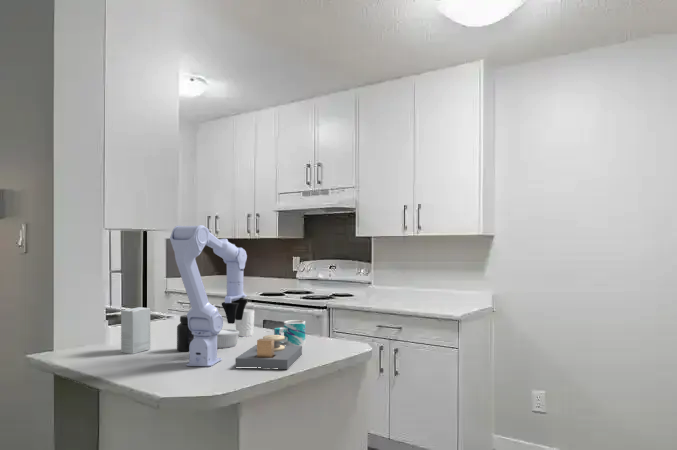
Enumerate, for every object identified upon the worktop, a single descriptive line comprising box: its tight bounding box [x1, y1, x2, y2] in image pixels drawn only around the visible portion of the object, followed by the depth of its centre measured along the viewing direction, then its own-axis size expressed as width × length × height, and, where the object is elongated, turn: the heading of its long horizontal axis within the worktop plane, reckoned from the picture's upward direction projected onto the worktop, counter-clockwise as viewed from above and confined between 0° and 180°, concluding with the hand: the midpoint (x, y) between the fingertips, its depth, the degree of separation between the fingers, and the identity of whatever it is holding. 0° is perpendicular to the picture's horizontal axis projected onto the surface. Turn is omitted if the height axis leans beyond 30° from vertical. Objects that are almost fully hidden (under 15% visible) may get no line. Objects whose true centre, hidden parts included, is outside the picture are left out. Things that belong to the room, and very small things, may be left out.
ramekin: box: [217, 328, 239, 349], centre depth 190 cm, size 11×11×5 cm
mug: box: [273, 319, 307, 347], centre depth 190 cm, size 8×12×8 cm
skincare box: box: [120, 306, 151, 355], centre depth 181 cm, size 8×6×15 cm
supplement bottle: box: [176, 314, 194, 353], centre depth 182 cm, size 7×7×12 cm
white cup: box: [234, 308, 255, 338], centre depth 210 cm, size 8×8×10 cm
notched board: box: [235, 334, 303, 370], centre depth 164 cm, size 20×16×7 cm
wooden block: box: [256, 338, 274, 358], centre depth 158 cm, size 3×4×8 cm, turn 81°
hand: (235, 321), depth 179 cm, fingers open, 7 cm apart
